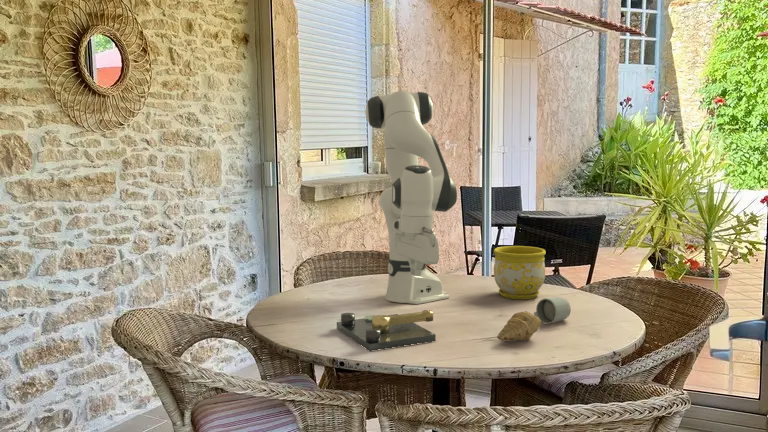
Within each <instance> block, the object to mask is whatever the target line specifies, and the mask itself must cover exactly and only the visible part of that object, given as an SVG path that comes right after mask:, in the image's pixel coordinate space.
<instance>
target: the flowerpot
mask: <svg viewBox="0 0 768 432" xmlns="http://www.w3.org/2000/svg"><path fill="white" fill-rule="evenodd" d="M493 253H494V254H495V256H494V264H493V265H494V266H493V277H494V281H495V284H496V286H497V287H498V288H499V289H498V293H499V294H500V295H501V297H503V298H506V299H511V300H531V299H535V298H537V297H538V295H540V291H539V290H540V289H541V287H542V286H543V285H544V282H545V280H546V279H545V278H546V264H545V259H546V258H545V255H546V249H544V248H540V247H536V246H525V245H508V246H507V245H505V246H498V247H495V248H494V249H493Z"/></svg>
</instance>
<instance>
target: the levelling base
mask: <svg viewBox="0 0 768 432" xmlns="http://www.w3.org/2000/svg"><path fill="white" fill-rule="evenodd" d="M375 315H376V314H375ZM375 315H374V314H369V315H365V316H364V318H358V319H356V314H355V313H353V312H343V313H341V314H340V321H336V329H337V330H338V331H340V332H341V333H343V334H344V335H345V336H346V337H348V338H349V339H351V340H352V341H354V343H357V344H358V345H359V344H360V345H359V346H361V345H362V346H363V347H362V346H361V347H362V348H364V347H365V348H366V349H365V348H364V349H365V350H367V351H368V350H369V351H370V352H373V351H372V350H377V351H379V350H378V349H383V350H386V349H385V348H390V349H393V348H392V347H396V348H399V347H398V346H403V347H405V346H404V345H409V346H412V345H411V344H416V345H418V344H417V343H422V344H426V343H425V342H429V343H433V342H432V341H435V342H436V341H437V340H436V338H437V337H436V334H435V333H434V332H432V331H430V330H428V329H426V328H424V327H422V326H421V325H419V324H417V323H416V322H414V323H407V324H400V325H392V326H390V330H389V331H387V332H381V330H380V329H377V328H372V317H373V316H375ZM393 315H399V314H398V313H397V314H387V316H393ZM369 351H368V352H369Z"/></svg>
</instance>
